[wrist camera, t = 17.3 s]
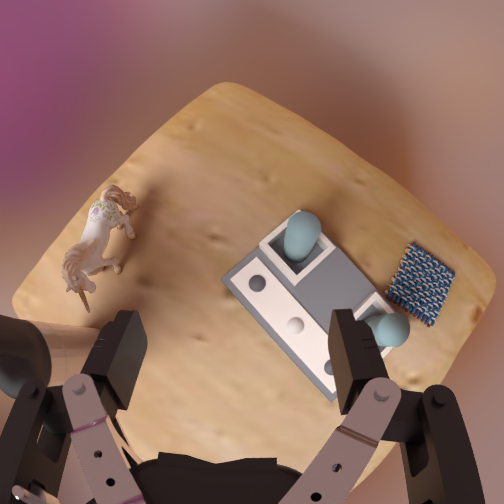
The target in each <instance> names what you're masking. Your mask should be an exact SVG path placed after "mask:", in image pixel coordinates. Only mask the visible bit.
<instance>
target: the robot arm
mask: <svg viewBox="0 0 504 504" xmlns="http://www.w3.org/2000/svg"><path fill="white" fill-rule="evenodd" d="M146 350H147V337H146V334H145V331H144V328H143V325H142V322H141V319H140V316H139V313H138V312H137V311H129V310H120V311H119V312H118V314H117V316H116V318H115V320H114V322H111V321H109V322H108V323H107V324H106V325H105V326H104V327H103V328H102V329H101V330H99V329H96V328H90V327H80V326H70V325H61V324H52V323H44V322H35V321H28V320H21V319H15V318H11V317H6V316H3V315H0V389H1V390H2V391H3V392H4V393H5V394H6V395H8V396H9V397H11V398H14V399H16V400H15V402H14V405H13V407H12V409H11V412H10V414H9V416H8V419H7V422H6V424H5V426H4V429H3V431H2V434H1V437H0V504H60V503H59V501H58V500H57V496H58V491H59V486H60V483H61V478H62V474H63V470H64V466H65V462H66V459H67V455H68V451H69V448H70V444H71V441H72V442H73V445H74V448H75V451H76V454H77V457H78V459H79V462H80V465H81V467H82V470H83V472H84V475H85V477H86V480H87V482H88V485H89V487H90V489H91V491H92V494H93V496H94V498H93V499H92V500H91V501H89V502H87V503H86V504H342V503H343V502H344V500H345V498H346V497H347V496H348V494H349V493H350V491H351V490H352V488H353V487H354V485H355V483H356V482H357V480H358V479H359V477H360V476H361V474H362V472H363V471H364V469H365V467H366V466H367V464H368V462H369V461H370V459H371V457H372V455H373V454H374V452H375V450H376V448H377V446H378V443H379V441H380V440H385V441H393V442H399V443H400V448H401V454H402V459H403V465H404V471H405V478H406V484H407V491H408V498H409V504H485V499H484V494H483V490H482V485H481V481H480V477H479V473H478V469H477V465H476V461H475V458H474V454H473V450H472V447H471V443H470V440H469V437H468V433H467V430H466V427H465V424H464V421H463V418H462V415H461V412H460V409H459V406H458V403H457V400H456V397H455V395H454V393H453V392H452V391H451V390H450V389H449V388H447V387H446V386H443V385H432V386H430V387H428V388H427V389H426V390H425V391H424V393H422V392H414V391H407V390H403V389H400V388H399V386H398V385H397V384H396V383H395V382H394V381H392V380H390V378H389V376H388V373H387V370H386V367H385V365H384V362H383V359H382V356H381V353H380V350H379V348H378V345H377V342H376V340H375V336H374V334H373V331H372V328H371V327H370V326H369V325H368V324H367V323H366V322H365V321H364V320H358V321H356V320H355V317H354V314H353V311H352V309H351V308H348V309H333V310H332V314H331V320H330V327H329V333H328V351H329V356H330V361H331V366H332V371H333V376H334V381H335V386H336V391H337V397H338V402H339V407H340V413H341V415H347V416H346V418H345V419H344V421H343V422H342V424H341V425H340V426H338V427H337V428H336V429H335V431H334V432H333V433H332V435H331V436H330V438H329V439H328V441H327V442H326V443H325V445H324V446H323V448H322V449H321V450H320V452H319V453H318V454H317V456H316V457H315V458H314V460H313V461H312V462H311V464H310V465H309V466H308V468H307V469H306V470H305V472H304V473H303V474H302V473H300V472H298V471H297V470H294V469H292V468H290V467H286V466H283V465H278V464H277V458H245V459H240V460H235V461H230V462H224V463H218V464H214V463H210V462H207V461H204V460H200V459H197V458H194V457H191V456H188V455H182V454H173V453H164V452H159V454H158V459H152V460H148V461H145V462H142V463H141V462H140V460H139V458H138V457H137V456H136V454H135V452H134V451H133V449H132V447H131V445H130V443H129V441H128V439H127V437H126V435H125V433H124V431H123V429H122V427H121V425H120V423H119V420H118V418H117V417H116V413H117V410H118V409H121V410H127V409H128V406H129V402H130V399H131V396H132V393H133V390H134V386H135V383H136V380H137V377H138V374H139V371H140V368H141V365H142V362H143V359H144V356H145V353H146ZM42 424H43V428H42V431H41V434H40V437H39V440H38V443H37V439H38V436H39V432H40V430H41V427H42Z"/></svg>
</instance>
